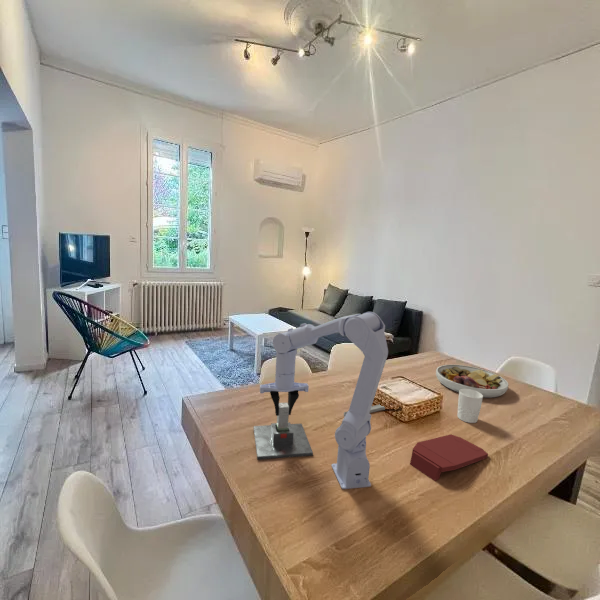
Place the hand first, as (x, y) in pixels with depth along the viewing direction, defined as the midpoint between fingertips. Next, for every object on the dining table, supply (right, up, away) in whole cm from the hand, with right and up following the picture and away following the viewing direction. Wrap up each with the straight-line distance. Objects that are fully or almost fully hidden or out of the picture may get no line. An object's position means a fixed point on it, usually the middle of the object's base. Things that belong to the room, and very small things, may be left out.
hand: (282, 413), depth 102 cm
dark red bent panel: (+49, -13, -2) cm, 51 cm away
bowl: (+84, -6, +55) cm, 101 cm away
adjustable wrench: (+32, -8, +26) cm, 42 cm away
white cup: (+67, -10, +23) cm, 72 cm away
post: (0, -5, +1) cm, 5 cm away
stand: (-1, -9, +2) cm, 9 cm away
